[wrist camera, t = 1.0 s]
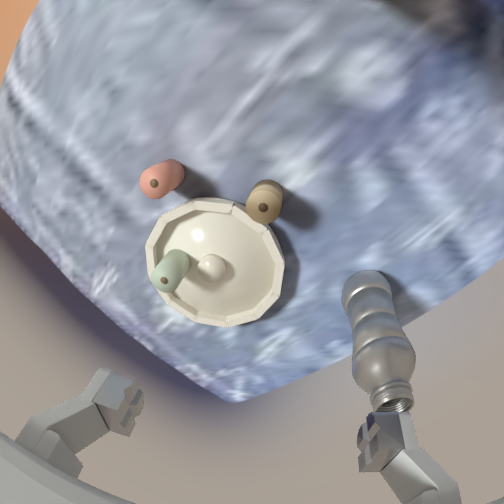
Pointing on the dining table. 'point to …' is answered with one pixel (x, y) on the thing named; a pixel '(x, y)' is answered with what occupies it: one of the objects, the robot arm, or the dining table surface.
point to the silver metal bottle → (378, 343)
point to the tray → (219, 261)
